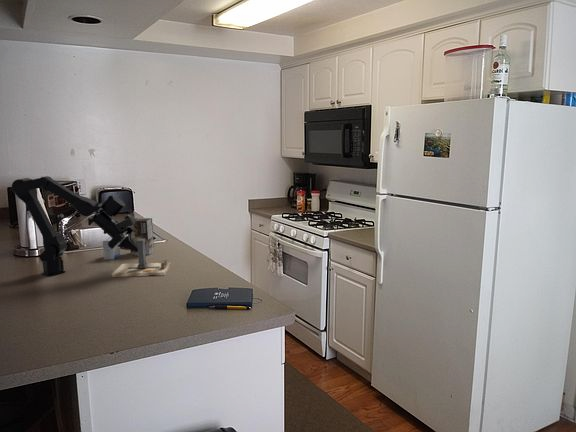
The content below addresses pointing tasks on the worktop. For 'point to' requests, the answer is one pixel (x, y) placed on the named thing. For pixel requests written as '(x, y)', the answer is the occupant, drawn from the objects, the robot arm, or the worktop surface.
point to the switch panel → (142, 269)
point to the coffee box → (143, 234)
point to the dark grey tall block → (141, 253)
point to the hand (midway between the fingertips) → (138, 250)
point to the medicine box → (110, 250)
